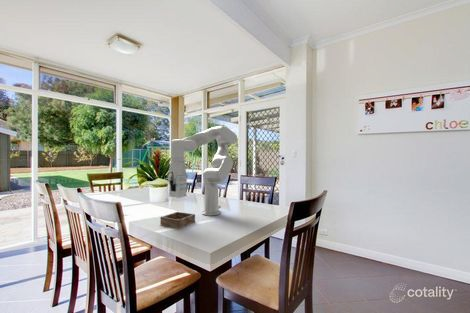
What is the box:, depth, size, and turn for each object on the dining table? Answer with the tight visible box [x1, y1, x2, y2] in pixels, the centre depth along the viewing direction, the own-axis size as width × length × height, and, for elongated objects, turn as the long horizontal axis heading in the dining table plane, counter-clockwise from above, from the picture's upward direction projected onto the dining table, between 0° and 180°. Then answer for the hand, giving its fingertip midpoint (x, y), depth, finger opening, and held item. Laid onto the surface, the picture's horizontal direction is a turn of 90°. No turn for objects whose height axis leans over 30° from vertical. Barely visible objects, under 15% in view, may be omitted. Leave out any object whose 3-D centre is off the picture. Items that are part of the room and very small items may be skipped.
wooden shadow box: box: [159, 211, 196, 229], centre depth 130 cm, size 14×14×4 cm
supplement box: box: [168, 174, 188, 199], centre depth 130 cm, size 7×7×13 cm
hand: (178, 190), depth 130 cm, fingers closed on supplement box, 7 cm apart
